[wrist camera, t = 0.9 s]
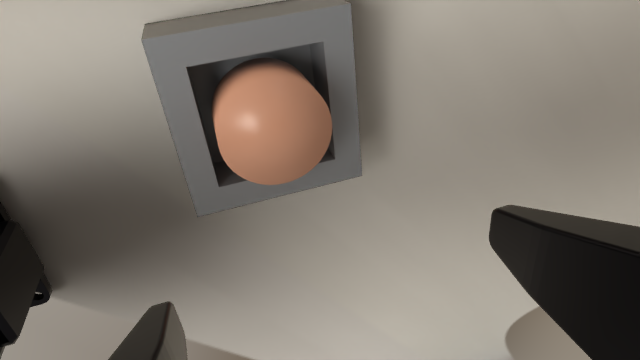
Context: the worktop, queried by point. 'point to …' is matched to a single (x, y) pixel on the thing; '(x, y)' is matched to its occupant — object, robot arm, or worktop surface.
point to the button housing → (237, 47)
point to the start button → (270, 121)
